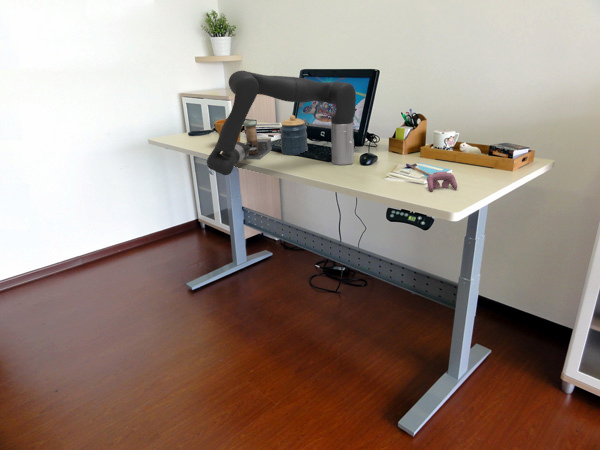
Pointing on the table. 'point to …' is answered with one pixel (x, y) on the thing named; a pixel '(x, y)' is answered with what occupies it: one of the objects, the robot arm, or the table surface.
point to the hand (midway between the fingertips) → (250, 143)
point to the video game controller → (445, 176)
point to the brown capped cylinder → (251, 134)
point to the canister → (293, 136)
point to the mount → (261, 149)
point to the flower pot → (219, 126)
